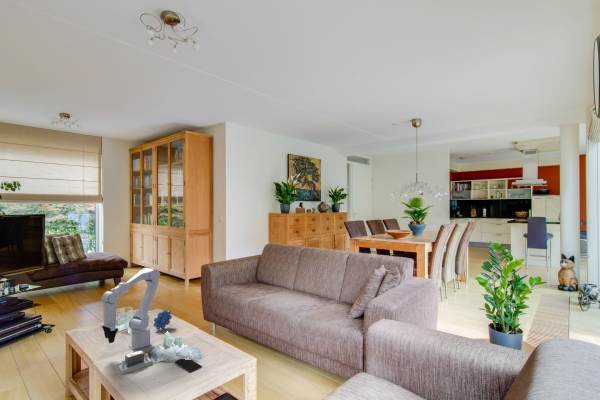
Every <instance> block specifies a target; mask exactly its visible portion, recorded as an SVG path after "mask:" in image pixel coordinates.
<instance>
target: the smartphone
mask: <svg viewBox="0 0 600 400" xmlns="http://www.w3.org/2000/svg"><path fill="white" fill-rule="evenodd" d="M173 363H174V365H176V367H177V366H178V367H179V368H181V369H182V370H184V371H186V372H187V373H189V374H192V373H194V372H196V371H198V370H200V369H201V368H203V366H202V365H201V364H199V363H198V362H196V361H194V360H193V359H191V360H185V359H181V358H179V359H177V360H175V361H173Z"/></svg>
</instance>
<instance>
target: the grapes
mask: <svg viewBox="0 0 600 400" xmlns="http://www.w3.org/2000/svg"><path fill="white" fill-rule="evenodd" d="M172 317H173V316H172V313H171V311H170V310H167V309H164V310H162V311H160V312H158V313H157V316H155V318H154V319H153V327H154V328H155V329H156V330H157V331H158V330H160V329H162V330H163V329H165V328H166V326H168V325H169V324H170V322H171V321H170V320H172Z"/></svg>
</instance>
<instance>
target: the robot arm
mask: <svg viewBox="0 0 600 400" xmlns="http://www.w3.org/2000/svg"><path fill="white" fill-rule="evenodd" d="M160 276H161V272H160V271H159V269H157V268H150V267H143V268H142V269H140V270H139V271H138V272H137V273H136V274H135V275H134V276H133V277H130V278H129V280H128V281H126V282H125V281H123V282H122V281H121V282H119V283H118V285H116V286H115V287H114V288H111V289H110V291H109V290H107V291H105V292H104V293H103V294H102V296H101V297H100V299H101V302H102V303H103V323H101V324H100V326H101V328H102V329H103V333H104V338H105V339H107V340H108V344H112V343H115V338H116V336H117V333H118V332H119V328H118V327H116V325H117V303H118V301H119V299H120V298H121V297H122V296H123V295H125V294H126V293H128V292H129V291H130V289H131V287H132V286H135V285H136V284H137V283H139V282H141V281H145V283H146V284H147V287H146V289H145V290H144V291H145V292H144V294H143V297H142V299H141V302H140V304H139V307H138V310H137V312H135V313H134V314H133V315H132V317H131V319H129V322H128V327H129V329H130V331H131V342H130V343H129V344H128V346H129V347H130V348H131V349H132V350H133V351H134V350H138V349H140V348H144V347H148V346H151V345H152V344H151V331H150V330H151V329H150V327H149V323H150V316H149V314H148V313H149V311H150V308H151V305H152V303H153V299H154V297H155V294H156V292H157V289H158V286H159V280H160V278H161V277H160Z"/></svg>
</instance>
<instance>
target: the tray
mask: <svg viewBox="0 0 600 400" xmlns="http://www.w3.org/2000/svg"><path fill="white" fill-rule="evenodd" d="M150 365H153V360H151V358H150V357H149V355H148V353H145V356H144V363H140V364H137V365H134V366H131V367H128V368H127V367H126V365H125V360H121V362H118V363H117V365H116V367H117V369H118V370H119V371H120V373H121V375H124V374H126V373H129V372H132V371H136V370H138V369H142V368H145V367H149V366H150Z"/></svg>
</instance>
